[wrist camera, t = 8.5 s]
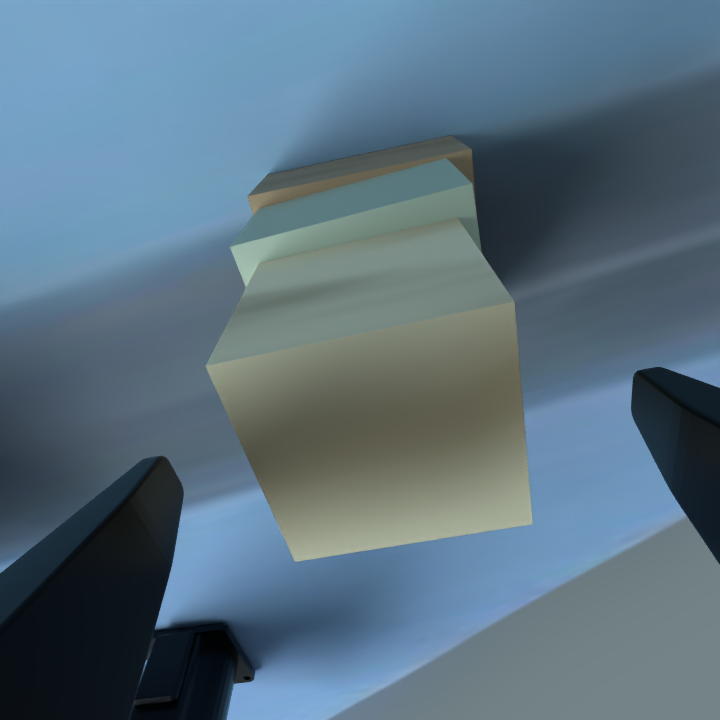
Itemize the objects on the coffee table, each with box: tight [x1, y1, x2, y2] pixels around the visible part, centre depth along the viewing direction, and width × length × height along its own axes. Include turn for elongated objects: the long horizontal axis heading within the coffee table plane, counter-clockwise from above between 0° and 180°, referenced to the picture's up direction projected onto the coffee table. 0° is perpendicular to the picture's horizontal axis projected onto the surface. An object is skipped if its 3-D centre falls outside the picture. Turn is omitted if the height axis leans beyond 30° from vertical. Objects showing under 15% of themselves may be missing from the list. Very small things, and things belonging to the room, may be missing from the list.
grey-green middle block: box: [230, 158, 482, 287], centre depth 15 cm, size 6×6×4 cm
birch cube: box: [206, 218, 533, 562], centre depth 11 cm, size 5×5×5 cm
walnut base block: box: [248, 135, 477, 215], centre depth 19 cm, size 7×7×4 cm
